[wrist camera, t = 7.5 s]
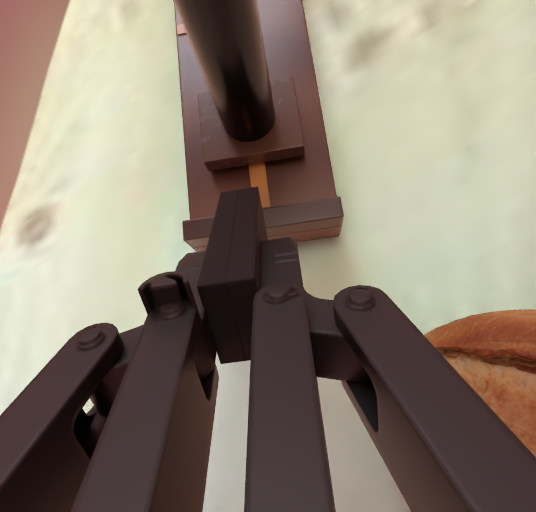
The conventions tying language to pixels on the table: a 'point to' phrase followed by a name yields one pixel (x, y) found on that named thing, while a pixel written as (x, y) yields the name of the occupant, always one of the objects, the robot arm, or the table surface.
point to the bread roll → (497, 364)
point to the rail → (272, 172)
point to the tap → (239, 87)
